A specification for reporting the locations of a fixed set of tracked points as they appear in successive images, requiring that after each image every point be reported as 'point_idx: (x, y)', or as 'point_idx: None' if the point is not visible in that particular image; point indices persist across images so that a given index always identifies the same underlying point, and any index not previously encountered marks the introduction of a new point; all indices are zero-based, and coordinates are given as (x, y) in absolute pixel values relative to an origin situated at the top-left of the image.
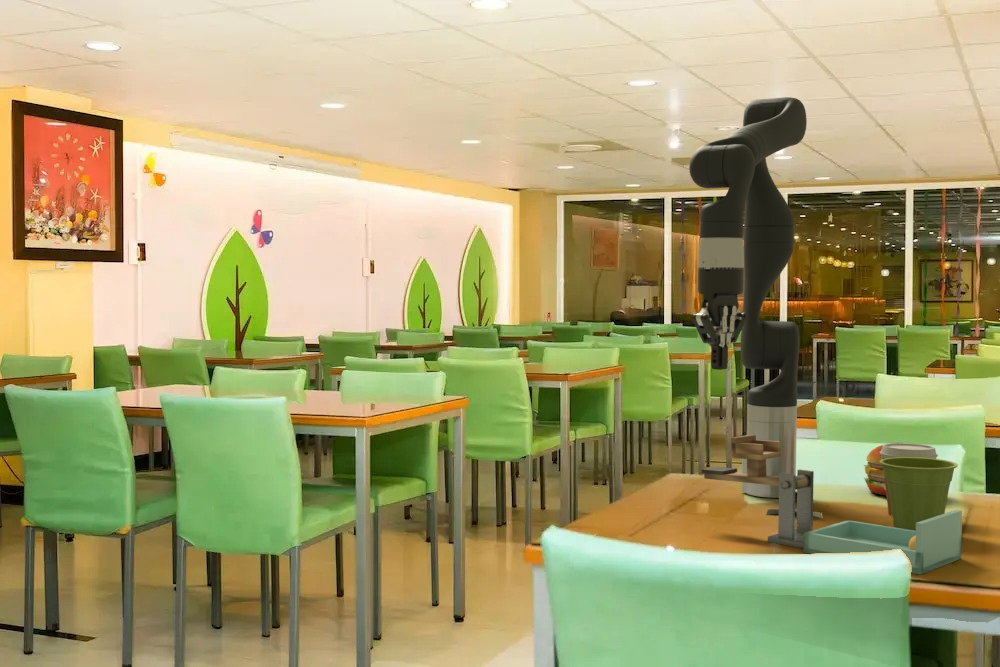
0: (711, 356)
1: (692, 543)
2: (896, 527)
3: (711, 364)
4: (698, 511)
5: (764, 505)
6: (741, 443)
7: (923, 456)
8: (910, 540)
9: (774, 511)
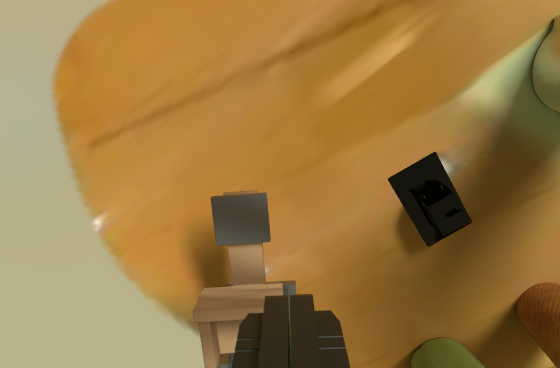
0: (234, 355)
1: (135, 231)
2: (418, 350)
3: (245, 318)
4: (328, 86)
5: (463, 126)
6: (199, 328)
7: None
8: None
9: (417, 175)
